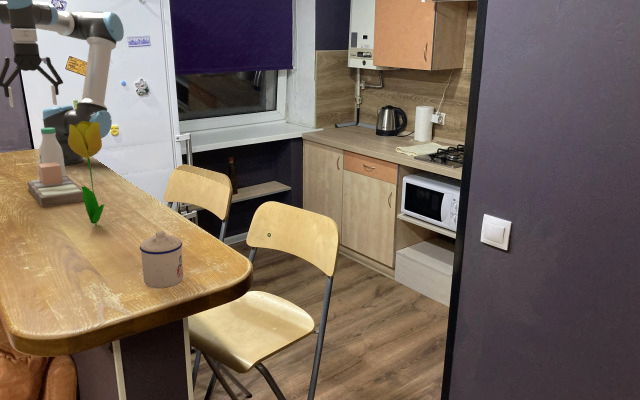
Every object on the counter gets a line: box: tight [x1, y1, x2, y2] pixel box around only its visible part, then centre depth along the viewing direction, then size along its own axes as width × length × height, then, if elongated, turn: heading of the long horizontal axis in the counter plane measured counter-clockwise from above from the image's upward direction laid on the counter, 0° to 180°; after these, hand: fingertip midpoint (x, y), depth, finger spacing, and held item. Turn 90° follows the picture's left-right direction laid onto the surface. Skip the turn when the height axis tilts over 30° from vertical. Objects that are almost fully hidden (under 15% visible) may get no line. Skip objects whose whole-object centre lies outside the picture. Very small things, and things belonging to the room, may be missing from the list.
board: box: [27, 175, 84, 208], centre depth 181 cm, size 24×13×3 cm, turn 37°
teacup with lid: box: [139, 230, 184, 289], centre depth 120 cm, size 12×9×12 cm
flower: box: [68, 121, 105, 226], centre depth 149 cm, size 9×8×30 cm
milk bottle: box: [38, 127, 67, 177], centre depth 192 cm, size 8×8×20 cm
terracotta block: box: [37, 162, 63, 185], centre depth 184 cm, size 6×6×6 cm
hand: (34, 105), depth 187 cm, fingers open, 13 cm apart
